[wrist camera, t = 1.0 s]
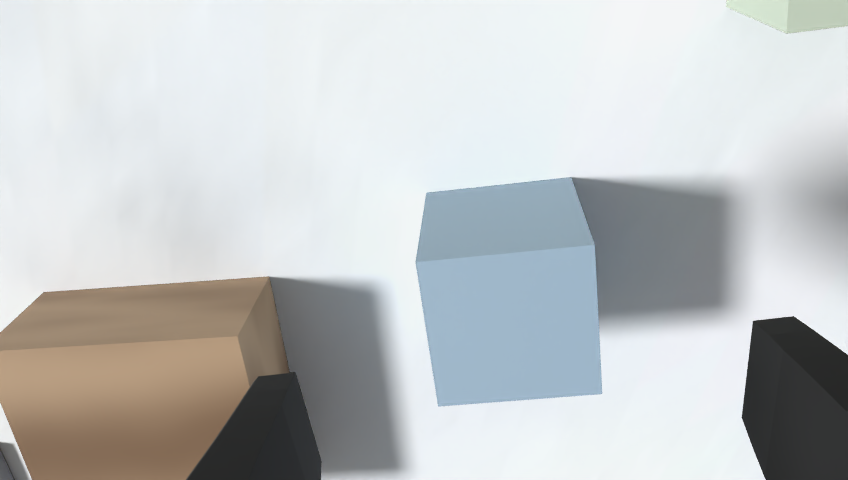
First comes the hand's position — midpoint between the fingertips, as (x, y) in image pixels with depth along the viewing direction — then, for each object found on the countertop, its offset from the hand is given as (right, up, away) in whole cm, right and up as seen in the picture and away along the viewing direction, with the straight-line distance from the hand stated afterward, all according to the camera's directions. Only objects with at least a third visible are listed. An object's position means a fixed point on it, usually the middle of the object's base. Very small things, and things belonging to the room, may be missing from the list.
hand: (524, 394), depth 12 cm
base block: (-10, -3, +15) cm, 19 cm away
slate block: (+1, +2, +12) cm, 13 cm away
